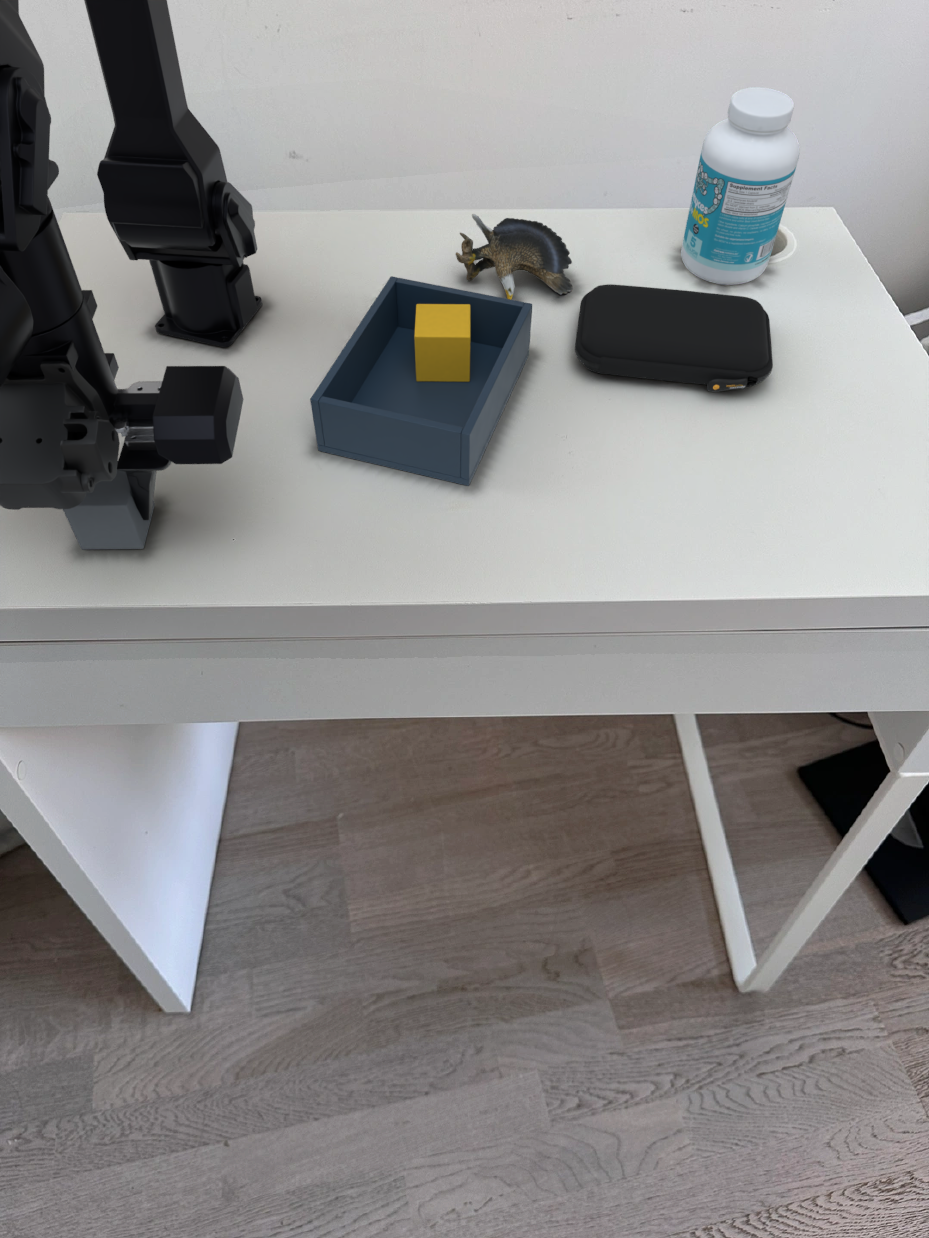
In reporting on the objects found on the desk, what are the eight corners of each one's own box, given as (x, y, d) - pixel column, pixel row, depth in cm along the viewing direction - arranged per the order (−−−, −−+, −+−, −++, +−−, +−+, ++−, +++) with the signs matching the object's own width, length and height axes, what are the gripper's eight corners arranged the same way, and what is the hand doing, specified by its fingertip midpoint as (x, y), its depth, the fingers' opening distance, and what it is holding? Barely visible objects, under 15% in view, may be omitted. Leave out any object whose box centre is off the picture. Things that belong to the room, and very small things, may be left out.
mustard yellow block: (416, 382, 70) (414, 336, 67) (417, 349, 72) (416, 303, 69) (469, 382, 70) (470, 337, 67) (469, 349, 72) (470, 303, 69)
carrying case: (569, 389, 70) (768, 410, 69) (573, 356, 68) (780, 376, 67) (580, 306, 77) (762, 324, 76) (584, 273, 74) (773, 290, 73)
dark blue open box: (317, 451, 66) (309, 399, 63) (393, 327, 75) (390, 276, 71) (469, 486, 64) (469, 435, 61) (528, 355, 73) (532, 303, 69)
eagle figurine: (460, 308, 75) (574, 293, 73) (449, 211, 72) (566, 194, 71) (473, 306, 82) (577, 292, 80) (463, 218, 80) (569, 202, 78)
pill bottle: (678, 237, 83) (711, 75, 73) (763, 244, 83) (809, 81, 72) (678, 285, 79) (713, 120, 68) (768, 293, 78) (817, 127, 68)
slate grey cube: (81, 549, 60) (60, 506, 57) (95, 505, 63) (75, 460, 60) (143, 549, 60) (126, 505, 57) (155, 504, 63) (139, 460, 60)
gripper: (-225, 409, 43) (-73, 615, 56) (182, 407, 44) (243, 613, 56) (-135, 271, 50) (-18, 483, 62) (217, 270, 50) (264, 481, 63)
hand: (114, 515), depth 61 cm, fingers closed on slate grey cube, 4 cm apart
